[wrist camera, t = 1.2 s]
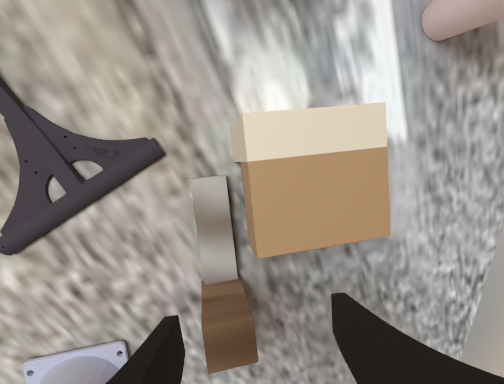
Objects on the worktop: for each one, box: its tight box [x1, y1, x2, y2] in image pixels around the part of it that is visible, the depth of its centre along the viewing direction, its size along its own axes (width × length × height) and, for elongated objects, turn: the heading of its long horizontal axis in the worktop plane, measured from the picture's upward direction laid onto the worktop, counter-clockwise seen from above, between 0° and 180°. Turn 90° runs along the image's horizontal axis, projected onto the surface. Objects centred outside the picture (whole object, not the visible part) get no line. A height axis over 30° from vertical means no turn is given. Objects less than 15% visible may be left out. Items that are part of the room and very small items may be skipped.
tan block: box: [231, 103, 390, 259], centre depth 21 cm, size 10×10×7 cm
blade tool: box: [190, 175, 258, 374], centre depth 21 cm, size 13×4×7 cm, turn 6°
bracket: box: [0, 77, 165, 255], centre depth 20 cm, size 14×15×3 cm
